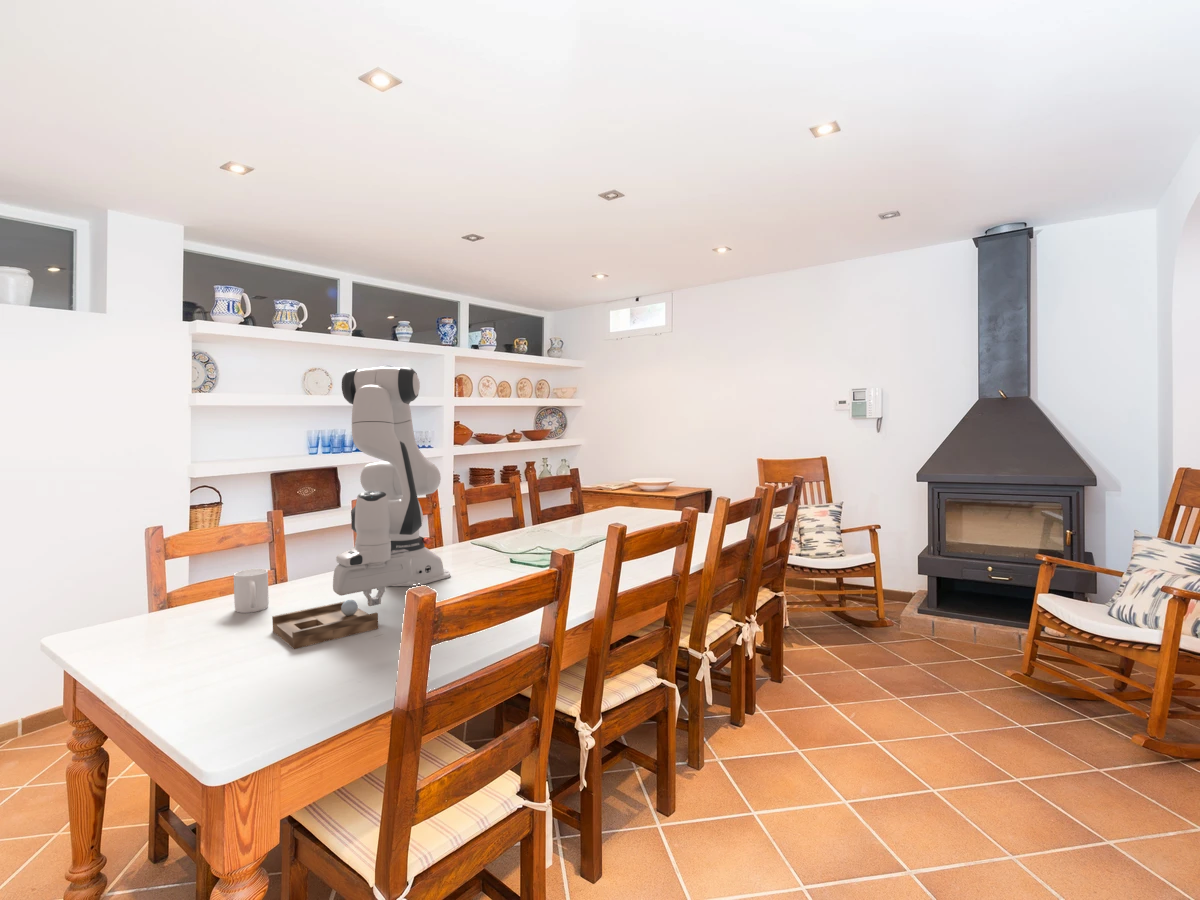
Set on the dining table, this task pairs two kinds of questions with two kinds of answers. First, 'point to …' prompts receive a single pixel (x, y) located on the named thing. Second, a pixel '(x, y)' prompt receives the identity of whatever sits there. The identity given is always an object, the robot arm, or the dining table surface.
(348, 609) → the ball
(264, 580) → the mug
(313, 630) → the wooden tray
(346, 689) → the dining table surface
